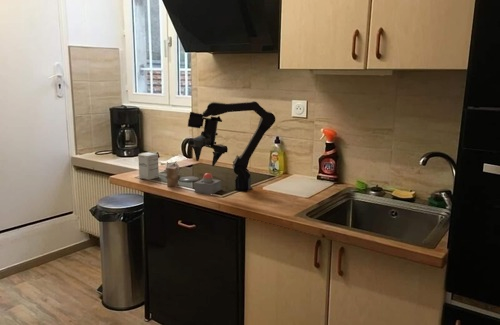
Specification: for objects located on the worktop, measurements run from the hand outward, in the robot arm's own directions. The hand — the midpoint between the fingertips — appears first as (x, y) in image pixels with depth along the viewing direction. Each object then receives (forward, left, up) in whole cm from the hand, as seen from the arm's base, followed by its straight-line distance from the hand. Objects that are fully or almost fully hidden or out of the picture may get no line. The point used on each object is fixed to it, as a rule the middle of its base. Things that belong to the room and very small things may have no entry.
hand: (205, 163), depth 190 cm
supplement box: (+39, -9, -13) cm, 42 cm away
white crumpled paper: (+29, -16, -13) cm, 35 cm away
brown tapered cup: (+19, -1, -13) cm, 23 cm away
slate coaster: (+18, -14, -13) cm, 26 cm away
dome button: (-1, 0, -11) cm, 11 cm away
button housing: (-1, 0, -13) cm, 13 cm away
